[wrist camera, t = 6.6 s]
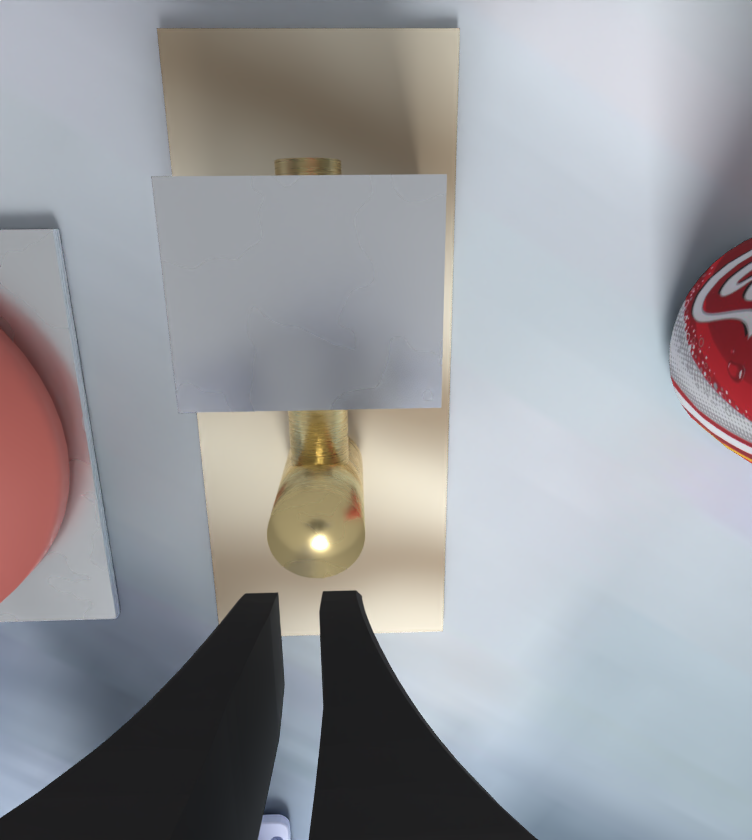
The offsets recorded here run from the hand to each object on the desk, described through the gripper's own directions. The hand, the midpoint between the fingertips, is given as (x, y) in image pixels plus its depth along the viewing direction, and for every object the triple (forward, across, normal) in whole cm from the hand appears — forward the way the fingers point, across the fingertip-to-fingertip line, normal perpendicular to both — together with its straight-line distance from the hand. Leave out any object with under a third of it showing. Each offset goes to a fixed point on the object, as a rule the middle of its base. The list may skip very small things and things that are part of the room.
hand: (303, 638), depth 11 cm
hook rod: (+9, 0, -4) cm, 9 cm away
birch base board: (+9, 0, -3) cm, 10 cm away
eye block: (+9, 0, -6) cm, 11 cm away
